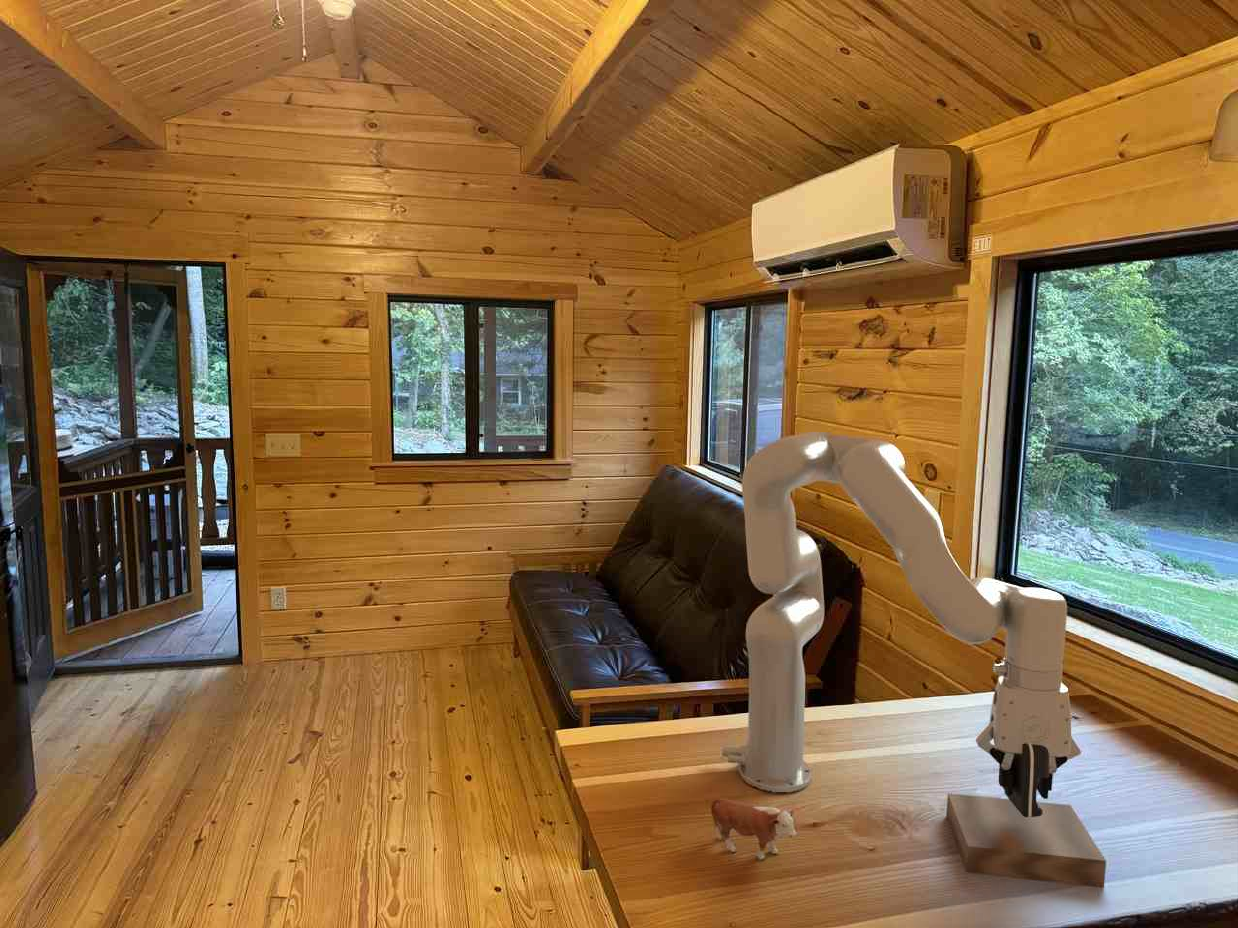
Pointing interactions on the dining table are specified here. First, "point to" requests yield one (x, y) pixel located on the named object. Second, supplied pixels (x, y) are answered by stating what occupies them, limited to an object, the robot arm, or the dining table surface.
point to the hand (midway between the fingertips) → (1024, 790)
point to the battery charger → (1029, 778)
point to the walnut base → (1024, 841)
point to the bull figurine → (751, 823)
